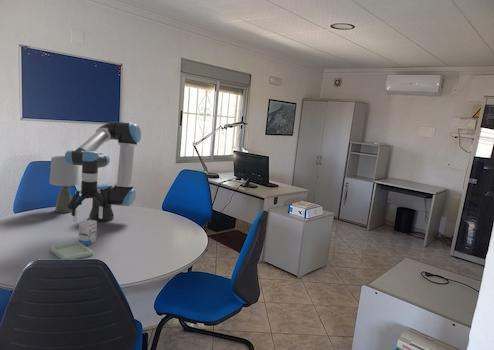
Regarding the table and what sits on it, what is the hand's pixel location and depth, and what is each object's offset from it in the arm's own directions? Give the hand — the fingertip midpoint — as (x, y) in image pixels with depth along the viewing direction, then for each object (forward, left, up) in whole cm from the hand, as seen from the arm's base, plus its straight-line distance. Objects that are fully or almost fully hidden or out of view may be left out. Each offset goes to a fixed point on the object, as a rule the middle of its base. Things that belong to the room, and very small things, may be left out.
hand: (87, 219), depth 179 cm
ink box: (0, 0, -13) cm, 13 cm away
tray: (+12, +9, -13) cm, 20 cm away
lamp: (-14, -64, -13) cm, 67 cm away
